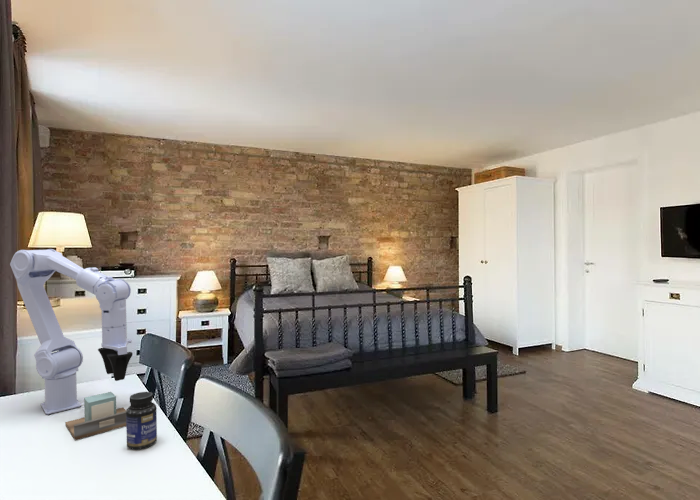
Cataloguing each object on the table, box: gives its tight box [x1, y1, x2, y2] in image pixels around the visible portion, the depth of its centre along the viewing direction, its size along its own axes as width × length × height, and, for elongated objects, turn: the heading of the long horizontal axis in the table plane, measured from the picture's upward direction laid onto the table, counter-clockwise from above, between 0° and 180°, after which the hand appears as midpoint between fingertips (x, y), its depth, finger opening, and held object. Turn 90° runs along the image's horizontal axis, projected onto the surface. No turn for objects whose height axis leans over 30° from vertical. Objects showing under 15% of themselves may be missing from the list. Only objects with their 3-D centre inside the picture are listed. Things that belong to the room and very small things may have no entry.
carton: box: [83, 391, 117, 422], centre depth 105 cm, size 5×6×6 cm
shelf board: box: [65, 407, 127, 441], centre depth 105 cm, size 11×13×3 cm
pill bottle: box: [125, 391, 158, 451], centre depth 94 cm, size 6×6×11 cm
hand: (115, 376), depth 112 cm, fingers open, 7 cm apart
